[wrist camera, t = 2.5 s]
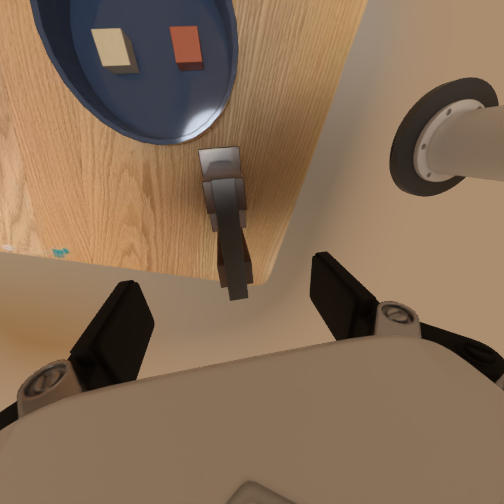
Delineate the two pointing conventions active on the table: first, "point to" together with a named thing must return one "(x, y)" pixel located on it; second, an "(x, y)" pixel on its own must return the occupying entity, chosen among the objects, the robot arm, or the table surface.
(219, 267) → the stick stand
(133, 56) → the cream block
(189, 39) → the terracotta block
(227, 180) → the stirring stick
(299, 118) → the table surface
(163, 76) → the bowl
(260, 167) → the table surface
